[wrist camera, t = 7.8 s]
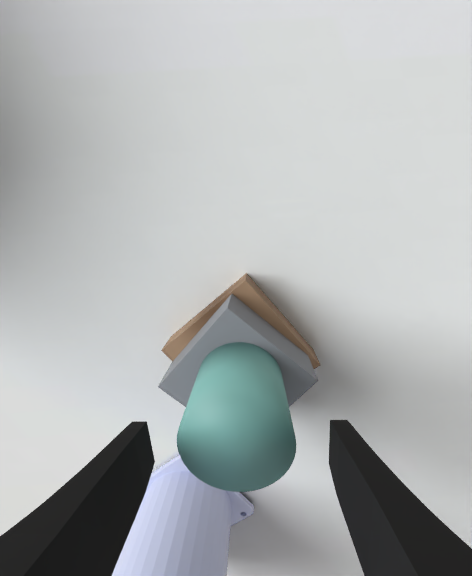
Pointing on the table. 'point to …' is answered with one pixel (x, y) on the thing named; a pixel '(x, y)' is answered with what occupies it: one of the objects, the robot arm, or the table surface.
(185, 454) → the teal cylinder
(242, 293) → the walnut base block
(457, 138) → the table surface
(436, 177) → the table surface
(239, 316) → the grey top block
